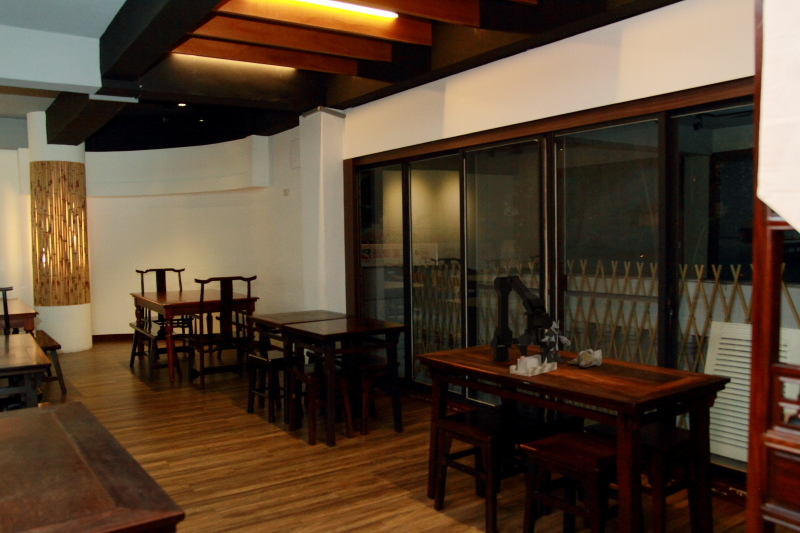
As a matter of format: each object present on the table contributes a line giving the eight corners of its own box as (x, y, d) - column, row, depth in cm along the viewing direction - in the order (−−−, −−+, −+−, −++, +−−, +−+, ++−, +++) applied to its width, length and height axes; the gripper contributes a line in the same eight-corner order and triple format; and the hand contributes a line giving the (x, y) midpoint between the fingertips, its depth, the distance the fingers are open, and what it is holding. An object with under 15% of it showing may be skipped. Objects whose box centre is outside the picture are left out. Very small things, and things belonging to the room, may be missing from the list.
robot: (565, 358, 302) (565, 316, 301) (573, 360, 298) (573, 317, 297) (535, 363, 291) (534, 320, 291) (542, 365, 287) (542, 321, 286)
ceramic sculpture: (608, 347, 280) (579, 352, 275) (609, 367, 281) (581, 372, 276) (593, 344, 290) (565, 348, 285) (594, 362, 291) (566, 367, 286)
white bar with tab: (525, 372, 268) (525, 357, 267) (516, 371, 271) (516, 356, 271) (549, 366, 279) (549, 352, 279) (540, 365, 283) (540, 350, 283)
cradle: (529, 376, 265) (529, 369, 265) (509, 373, 272) (509, 366, 272) (556, 369, 278) (556, 362, 278) (537, 366, 286) (537, 359, 286)
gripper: (504, 326, 276) (504, 362, 277) (540, 330, 262) (540, 368, 263) (520, 323, 283) (520, 358, 284) (555, 327, 270) (556, 364, 270)
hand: (533, 362), depth 275 cm, fingers open, 9 cm apart
